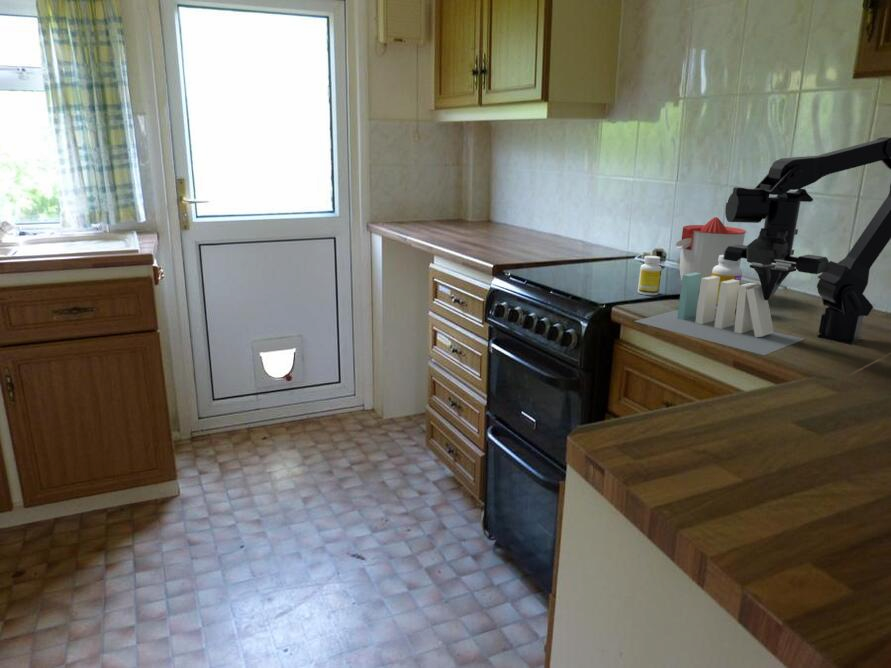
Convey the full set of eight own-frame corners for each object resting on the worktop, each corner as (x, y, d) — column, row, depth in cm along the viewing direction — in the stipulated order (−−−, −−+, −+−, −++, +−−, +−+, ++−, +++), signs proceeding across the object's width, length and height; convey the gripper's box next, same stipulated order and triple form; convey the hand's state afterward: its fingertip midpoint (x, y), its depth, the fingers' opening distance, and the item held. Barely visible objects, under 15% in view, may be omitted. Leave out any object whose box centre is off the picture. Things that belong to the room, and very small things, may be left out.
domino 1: (713, 320, 148) (720, 277, 145) (701, 324, 145) (708, 279, 142) (706, 319, 149) (713, 275, 146) (695, 322, 146) (701, 278, 143)
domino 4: (773, 332, 138) (765, 285, 138) (762, 336, 135) (753, 288, 135) (766, 333, 139) (757, 286, 139) (755, 337, 136) (746, 289, 136)
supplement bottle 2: (732, 313, 156) (740, 259, 152) (703, 308, 160) (710, 256, 156) (739, 308, 161) (747, 256, 157) (711, 303, 165) (718, 252, 161)
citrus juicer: (659, 285, 185) (668, 213, 179) (718, 285, 187) (728, 213, 181) (684, 298, 170) (695, 220, 164) (748, 298, 172) (760, 221, 166)
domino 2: (732, 325, 145) (739, 280, 142) (721, 328, 142) (728, 283, 139) (725, 323, 146) (732, 279, 143) (714, 327, 143) (720, 282, 140)
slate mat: (804, 340, 136) (804, 338, 136) (763, 356, 125) (764, 355, 125) (678, 310, 157) (678, 309, 157) (633, 322, 146) (633, 321, 146)
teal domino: (677, 318, 149) (682, 274, 146) (689, 314, 152) (695, 272, 149) (683, 319, 148) (689, 276, 145) (695, 316, 151) (701, 273, 148)
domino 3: (752, 329, 141) (757, 283, 139) (741, 333, 138) (746, 286, 136) (745, 328, 142) (750, 282, 140) (734, 332, 139) (738, 285, 137)
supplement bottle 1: (661, 296, 172) (665, 258, 169) (640, 295, 172) (644, 258, 169) (655, 291, 177) (659, 255, 174) (635, 290, 177) (639, 254, 174)
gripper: (715, 220, 133) (704, 296, 137) (813, 232, 119) (797, 315, 124) (742, 217, 140) (730, 289, 144) (837, 228, 126) (821, 307, 131)
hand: (767, 300), depth 135 cm, fingers closed
